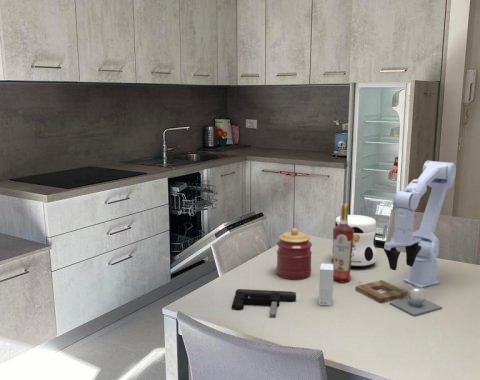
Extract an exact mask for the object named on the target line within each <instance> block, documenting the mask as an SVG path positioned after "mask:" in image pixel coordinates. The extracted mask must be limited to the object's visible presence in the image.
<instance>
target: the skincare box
mask: <svg viewBox="0 0 480 380" xmlns="http://www.w3.org/2000/svg"><path fill="white" fill-rule="evenodd" d="M333 270H334V268H333V263H320V268H319V287H318V288H319V289H318V305H319V306H332V305H333V293H334V292H333V291H334V289H333V288H334V287H333V286H334V278H333Z"/></svg>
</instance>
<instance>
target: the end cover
mask: <svg viewBox="0 0 480 380" xmlns="http://www.w3.org/2000/svg"><path fill="white" fill-rule="evenodd" d="M408 289H409V290H408V298H409V300H408V304H409V305H410V306H412V307H417V308H419V307H423V300H424V299H425V297H424V296H425V287H421V286H415V285H410V286H409V287H408Z"/></svg>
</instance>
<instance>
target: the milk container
mask: <svg viewBox="0 0 480 380" xmlns="http://www.w3.org/2000/svg"><path fill="white" fill-rule="evenodd" d="M340 216H341V215H339V216H337V217H336V218H335V225H334V227H336V226H338V225H339V224H340ZM347 216H348V226H350V227H352V228H353V229H354V236H353V247H352V256H351V268H366V267H369V266H372V265H373V264H374V263H375V262H376V260H377V257H378V256H377V255H378V249H377V245H376V233H377V229H376V228H377V222H376V219H375V218H373V217H371V216H367V215H361V214H347ZM331 248H332V249H331V254H332V256H333V246H332V247H331Z"/></svg>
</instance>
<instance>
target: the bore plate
mask: <svg viewBox="0 0 480 380" xmlns="http://www.w3.org/2000/svg"><path fill="white" fill-rule="evenodd" d="M379 290H383V291H385V292H379ZM355 291H356V292H358V293H361V294H362V295H364V296H366V297H368V298H370V299H372V300H374V301H376V302H378V303H379V304H383V303H386V302H392V301H394V300H395V301H396V300H400V299H402V298H403V299H404V298H408V297H409V291H407V290H405V289H402V288H400V287H398V286H396V285H394V284H392V283H389V282H387V281H385V280H383V279H381V280H376V281H371V282H367V283H363V284H359V285H355Z"/></svg>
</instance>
